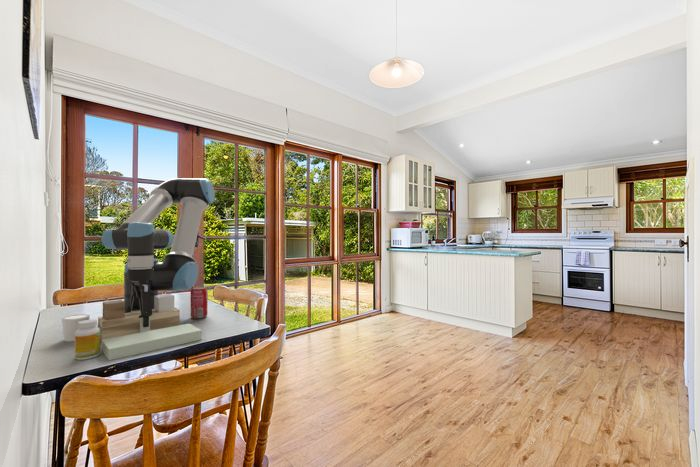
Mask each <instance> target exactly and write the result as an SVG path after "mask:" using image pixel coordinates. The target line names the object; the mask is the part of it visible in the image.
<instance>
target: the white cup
mask: <svg viewBox="0 0 700 467" xmlns="http://www.w3.org/2000/svg"><path fill="white" fill-rule="evenodd" d="M90 318H91V317H90V314H73V315H69V316H64V317H62V318H61V324H62V331H63V332H62V334H63V341H64V342H75V332H76V331H77V330H79V328H78V322H80V321H84V320H90Z"/></svg>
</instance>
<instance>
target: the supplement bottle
mask: <svg viewBox="0 0 700 467" xmlns="http://www.w3.org/2000/svg"><path fill="white" fill-rule="evenodd" d="M78 328H79V330H77V331H76V332H75V341H74V359H75V360H78V361H83V360H90V359H93V358H96V357H98V356H100V354H101V342H100V329H99V328H98V319H89V320H84V321H80V322H78Z"/></svg>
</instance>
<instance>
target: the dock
mask: <svg viewBox="0 0 700 467" xmlns="http://www.w3.org/2000/svg"><path fill="white" fill-rule="evenodd" d="M202 330H203V329H201V328H198V327H197V326H194V325H193V324H191V323H185V324H180V325H178V326H173V327H167V328H162V329H157V330H151V331H146V332H140V333H135V334H130V335H124V336H119V337H114V338H108V339H103V340H102V343H101V351H102V352H103V354H104V356H105V357H106V359H107V360H108V361H112V360H117V359H121V358H126V357H129V356H134V355H139V354H143V353H148V352H151V351H152V352H153V351H157V350H161V349H166V348H170V347H174V346H175V347H176V346H179V345H183V344H187V343H193V342H196V341H201V340H202V337H203V335H202V334H203V333H202Z"/></svg>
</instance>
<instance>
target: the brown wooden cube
mask: <svg viewBox="0 0 700 467" xmlns="http://www.w3.org/2000/svg"><path fill="white" fill-rule="evenodd" d="M102 316H103V318H104V319H105V320H110V319H117V318H124V317H125V302H124V299H116V300H107V301H102Z"/></svg>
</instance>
